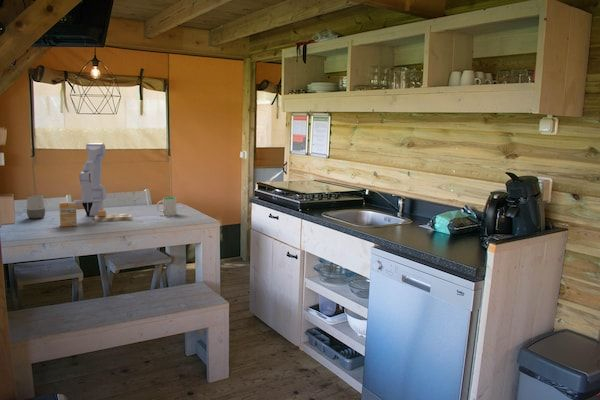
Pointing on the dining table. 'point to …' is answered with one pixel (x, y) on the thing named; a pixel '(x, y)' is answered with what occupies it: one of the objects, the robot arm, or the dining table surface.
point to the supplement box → (68, 214)
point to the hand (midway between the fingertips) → (88, 215)
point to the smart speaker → (35, 207)
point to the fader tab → (101, 212)
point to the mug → (168, 206)
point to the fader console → (113, 217)
